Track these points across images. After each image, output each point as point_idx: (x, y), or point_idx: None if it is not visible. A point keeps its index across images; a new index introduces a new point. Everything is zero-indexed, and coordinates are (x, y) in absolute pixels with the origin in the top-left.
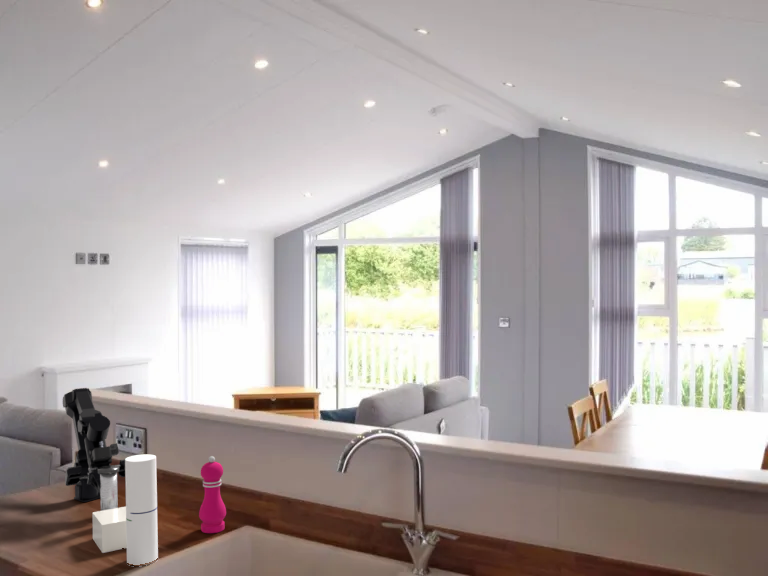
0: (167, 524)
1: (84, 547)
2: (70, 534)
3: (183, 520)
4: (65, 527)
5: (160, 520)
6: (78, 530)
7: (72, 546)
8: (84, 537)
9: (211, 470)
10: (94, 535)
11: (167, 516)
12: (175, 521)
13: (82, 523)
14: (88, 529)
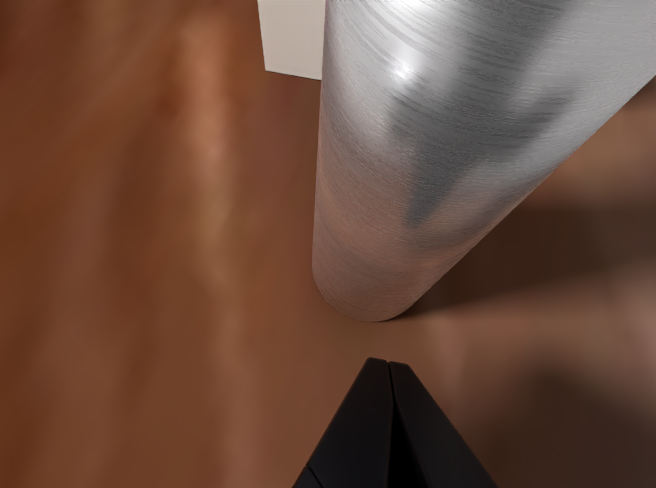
0: (108, 37)
1: None
2: (627, 281)
3: (3, 31)
4: (647, 470)
5: (86, 119)
6: (570, 321)
7: None
8: (558, 169)
9: None
10: None
11: (3, 154)
12: (44, 47)
13: (516, 469)
14: (508, 290)
